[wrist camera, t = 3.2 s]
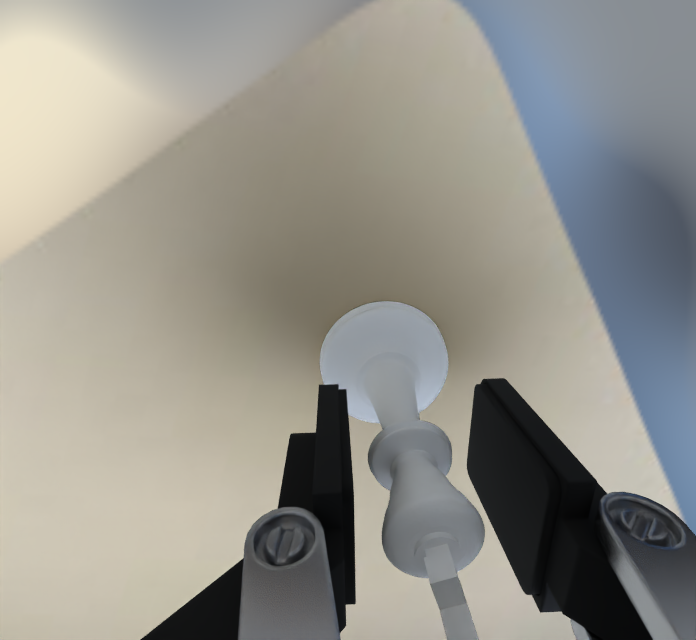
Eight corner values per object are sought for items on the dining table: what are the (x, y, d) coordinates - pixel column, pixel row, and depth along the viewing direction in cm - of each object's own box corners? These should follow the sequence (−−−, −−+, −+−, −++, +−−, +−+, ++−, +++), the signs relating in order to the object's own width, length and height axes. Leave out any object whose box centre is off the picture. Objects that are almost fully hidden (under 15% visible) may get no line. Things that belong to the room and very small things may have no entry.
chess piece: (343, 430, 16) (360, 784, 7) (301, 325, 14) (240, 594, 5) (458, 394, 16) (650, 714, 6) (427, 282, 14) (626, 484, 5)
